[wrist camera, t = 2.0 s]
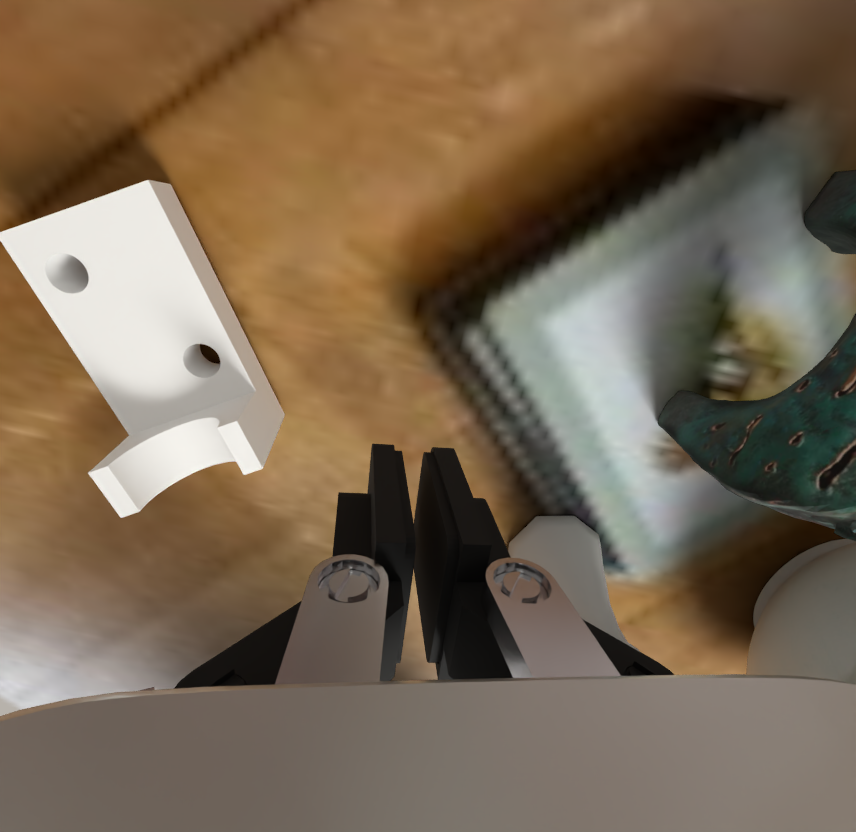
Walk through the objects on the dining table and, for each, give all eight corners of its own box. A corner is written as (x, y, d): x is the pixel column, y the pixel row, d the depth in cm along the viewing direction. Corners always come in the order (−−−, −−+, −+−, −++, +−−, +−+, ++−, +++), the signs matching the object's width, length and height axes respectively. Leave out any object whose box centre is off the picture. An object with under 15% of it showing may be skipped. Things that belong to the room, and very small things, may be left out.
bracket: (287, 409, 29) (262, 468, 22) (179, 446, 29) (121, 517, 22) (177, 185, 24) (100, 170, 17) (46, 232, 24) (-86, 236, 17)
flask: (487, 577, 36) (530, 700, 27) (530, 500, 33) (592, 605, 24) (567, 597, 38) (632, 719, 28) (612, 525, 35) (699, 632, 26)
